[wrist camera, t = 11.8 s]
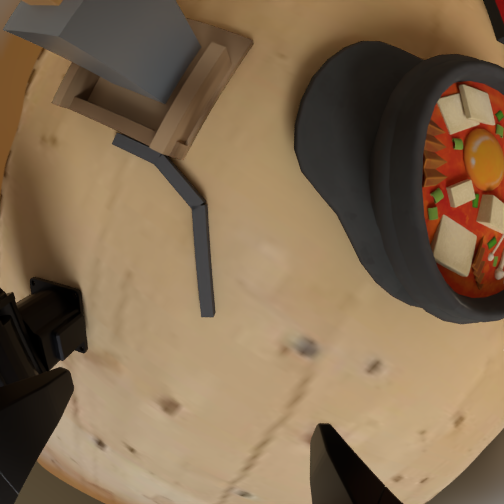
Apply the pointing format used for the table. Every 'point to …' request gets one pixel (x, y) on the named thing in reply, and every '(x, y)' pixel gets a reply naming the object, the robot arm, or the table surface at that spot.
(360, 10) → the table surface
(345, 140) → the casserole
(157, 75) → the block
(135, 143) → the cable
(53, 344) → the robot arm
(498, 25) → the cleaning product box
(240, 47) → the tray
